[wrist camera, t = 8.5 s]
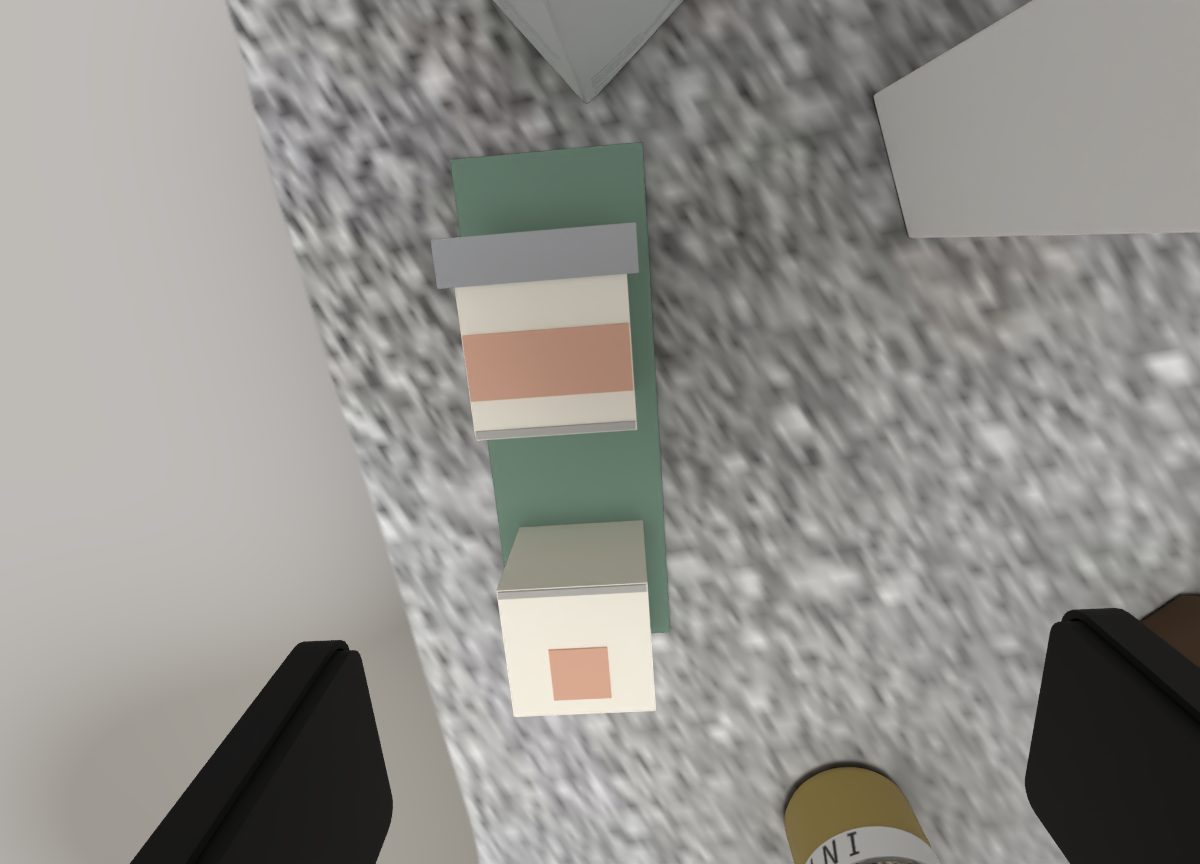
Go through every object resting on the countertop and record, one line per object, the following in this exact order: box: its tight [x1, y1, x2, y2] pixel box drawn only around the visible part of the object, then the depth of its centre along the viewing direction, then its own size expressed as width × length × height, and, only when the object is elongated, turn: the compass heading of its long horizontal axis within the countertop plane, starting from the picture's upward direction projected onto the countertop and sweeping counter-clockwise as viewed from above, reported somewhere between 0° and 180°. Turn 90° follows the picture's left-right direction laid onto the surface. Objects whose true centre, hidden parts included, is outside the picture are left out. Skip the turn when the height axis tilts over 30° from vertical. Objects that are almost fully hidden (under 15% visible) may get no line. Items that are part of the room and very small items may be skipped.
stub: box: [497, 520, 656, 717], centre depth 29 cm, size 6×6×6 cm
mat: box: [450, 142, 670, 633], centre depth 30 cm, size 23×8×1 cm, turn 5°
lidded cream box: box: [430, 222, 639, 441], centre depth 25 cm, size 7×7×7 cm
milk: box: [874, 0, 1200, 238], centre depth 16 cm, size 6×6×22 cm
